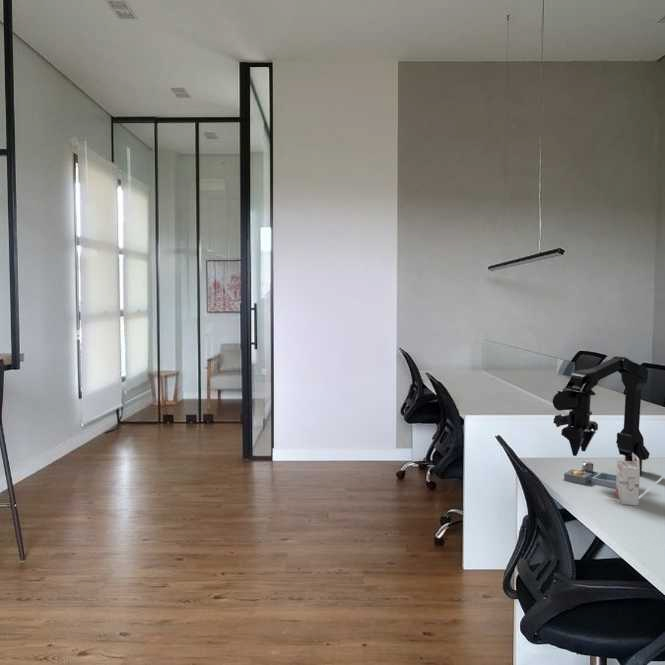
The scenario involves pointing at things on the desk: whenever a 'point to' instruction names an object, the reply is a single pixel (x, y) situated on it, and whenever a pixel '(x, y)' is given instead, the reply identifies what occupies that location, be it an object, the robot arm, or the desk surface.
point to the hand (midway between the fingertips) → (579, 453)
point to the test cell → (587, 467)
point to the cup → (604, 480)
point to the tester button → (578, 473)
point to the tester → (579, 477)
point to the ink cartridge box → (628, 481)
